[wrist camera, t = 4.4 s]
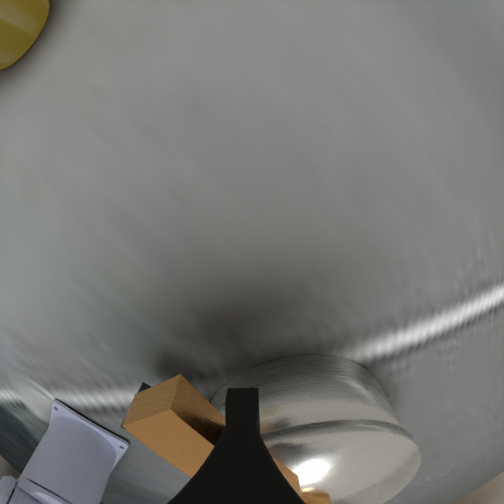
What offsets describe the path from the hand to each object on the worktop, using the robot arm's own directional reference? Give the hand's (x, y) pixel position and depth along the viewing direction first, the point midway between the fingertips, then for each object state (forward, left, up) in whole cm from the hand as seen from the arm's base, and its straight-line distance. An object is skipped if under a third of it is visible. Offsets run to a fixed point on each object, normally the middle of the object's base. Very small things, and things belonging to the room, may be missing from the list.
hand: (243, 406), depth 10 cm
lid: (-5, -6, -1) cm, 8 cm away
